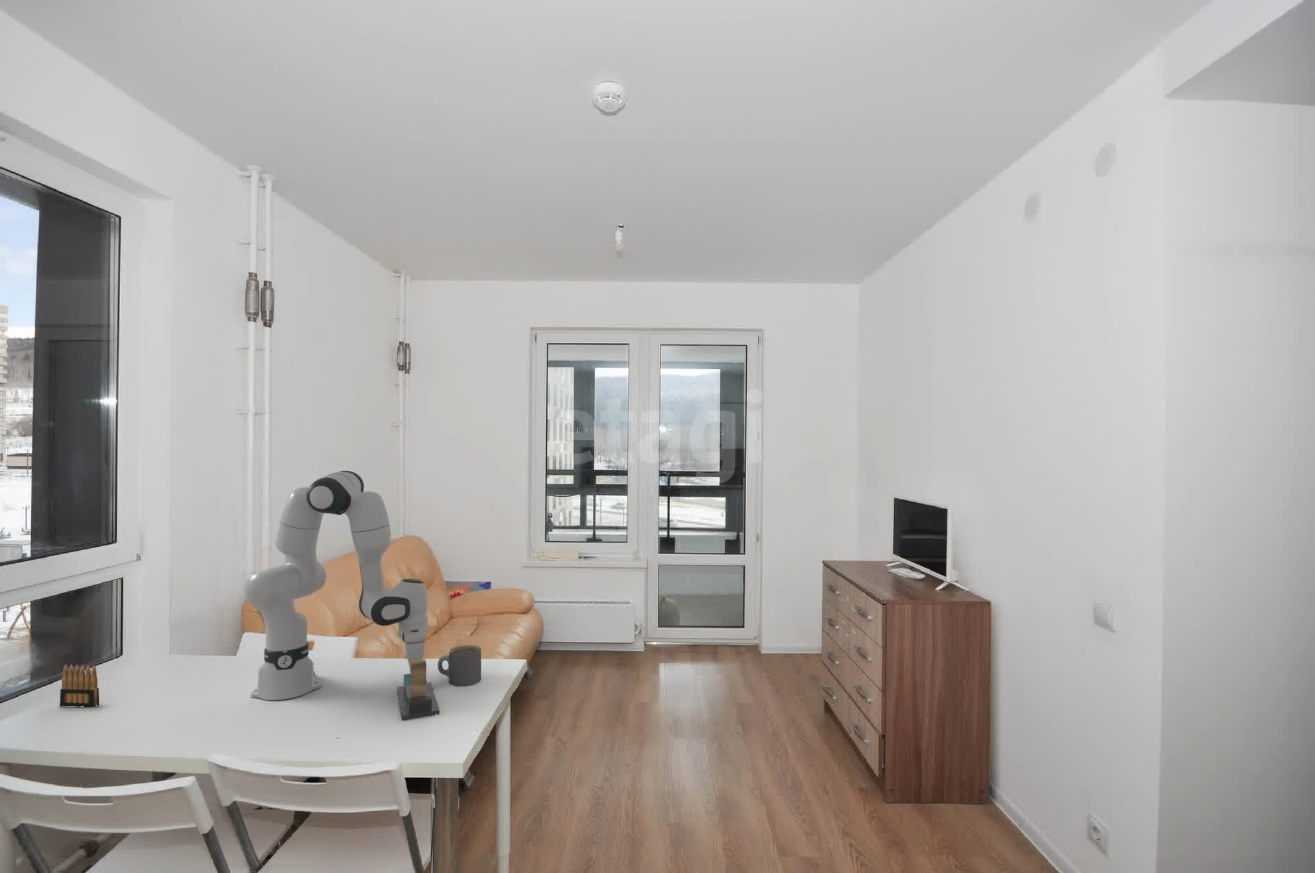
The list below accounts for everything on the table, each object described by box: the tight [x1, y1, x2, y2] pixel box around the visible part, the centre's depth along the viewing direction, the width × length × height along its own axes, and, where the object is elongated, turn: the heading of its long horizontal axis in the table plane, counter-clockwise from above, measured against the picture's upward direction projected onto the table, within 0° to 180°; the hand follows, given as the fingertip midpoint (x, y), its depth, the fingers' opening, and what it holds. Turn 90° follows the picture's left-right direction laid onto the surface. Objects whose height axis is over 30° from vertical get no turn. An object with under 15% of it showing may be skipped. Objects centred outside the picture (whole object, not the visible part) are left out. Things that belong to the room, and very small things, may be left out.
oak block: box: [411, 658, 427, 697], centre depth 192 cm, size 4×4×12 cm
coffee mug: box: [437, 644, 482, 688], centre depth 213 cm, size 13×10×10 cm
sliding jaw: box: [403, 673, 428, 698], centre depth 202 cm, size 12×6×3 cm, turn 24°
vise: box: [396, 681, 441, 721], centre depth 196 cm, size 24×10×4 cm, turn 24°
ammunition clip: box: [59, 664, 100, 708], centre depth 193 cm, size 11×2×12 cm, turn 86°
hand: (413, 673), depth 211 cm, fingers closed
